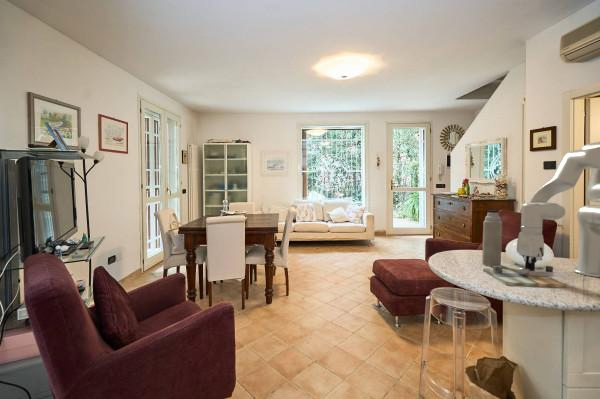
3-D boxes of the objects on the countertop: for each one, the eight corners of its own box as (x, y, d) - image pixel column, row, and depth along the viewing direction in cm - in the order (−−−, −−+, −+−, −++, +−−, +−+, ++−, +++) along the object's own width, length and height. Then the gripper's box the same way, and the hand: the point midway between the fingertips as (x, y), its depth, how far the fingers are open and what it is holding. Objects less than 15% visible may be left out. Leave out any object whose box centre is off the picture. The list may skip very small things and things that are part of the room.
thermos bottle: (479, 262, 156) (480, 209, 155) (495, 262, 156) (496, 209, 154) (487, 266, 148) (488, 211, 147) (504, 267, 148) (506, 211, 146)
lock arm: (521, 276, 128) (521, 266, 128) (516, 273, 132) (517, 264, 132) (555, 277, 126) (555, 267, 126) (549, 275, 130) (549, 265, 130)
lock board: (534, 272, 138) (534, 263, 138) (565, 287, 118) (566, 277, 118) (483, 270, 141) (483, 262, 141) (505, 284, 122) (506, 274, 121)
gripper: (510, 228, 140) (508, 266, 141) (538, 233, 125) (537, 276, 126) (524, 228, 141) (523, 266, 142) (554, 233, 126) (553, 275, 127)
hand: (529, 270), depth 134 cm, fingers closed
